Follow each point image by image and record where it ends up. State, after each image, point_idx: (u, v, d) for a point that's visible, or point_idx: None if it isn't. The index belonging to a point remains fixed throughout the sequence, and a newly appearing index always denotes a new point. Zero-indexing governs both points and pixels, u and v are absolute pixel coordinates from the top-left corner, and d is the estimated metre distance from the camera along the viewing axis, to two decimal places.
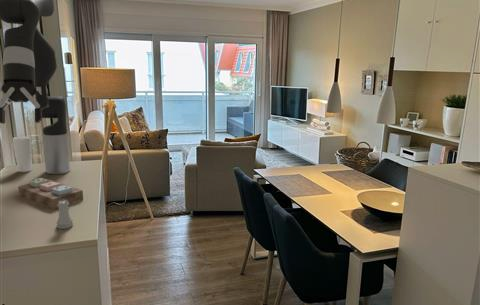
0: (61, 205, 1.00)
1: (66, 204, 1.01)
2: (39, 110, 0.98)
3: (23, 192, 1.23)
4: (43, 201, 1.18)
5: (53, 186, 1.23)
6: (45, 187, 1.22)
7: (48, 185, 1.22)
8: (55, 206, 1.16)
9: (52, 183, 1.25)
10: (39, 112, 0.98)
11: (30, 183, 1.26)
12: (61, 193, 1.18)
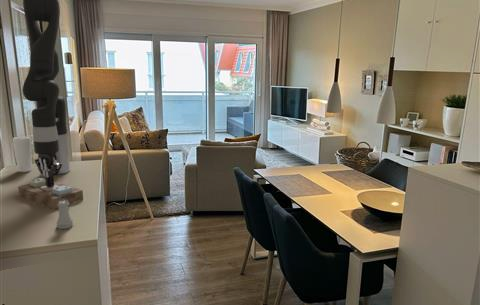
0: (61, 205, 1.00)
1: (66, 204, 1.01)
2: (49, 178, 1.22)
3: (23, 192, 1.23)
4: (43, 201, 1.18)
5: None
6: (45, 190, 1.22)
7: (48, 188, 1.23)
8: (55, 206, 1.16)
9: None
10: (49, 180, 1.22)
11: (30, 183, 1.26)
12: (61, 193, 1.18)
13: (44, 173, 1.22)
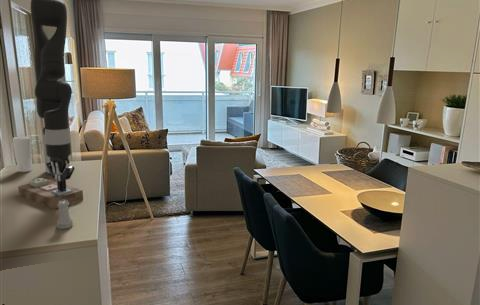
0: (61, 205, 1.00)
1: (66, 204, 1.01)
2: (61, 182, 1.19)
3: (23, 192, 1.23)
4: (43, 201, 1.18)
5: (53, 189, 1.23)
6: (45, 190, 1.22)
7: (48, 188, 1.23)
8: (55, 206, 1.16)
9: (53, 186, 1.25)
10: (61, 184, 1.19)
11: (30, 183, 1.26)
12: None
13: (56, 177, 1.19)
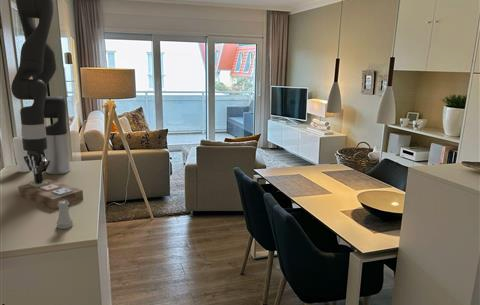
0: (61, 205, 1.00)
1: (66, 204, 1.01)
2: (37, 175, 1.25)
3: (23, 192, 1.23)
4: (43, 201, 1.18)
5: (53, 189, 1.23)
6: (45, 190, 1.22)
7: (48, 188, 1.23)
8: (55, 206, 1.16)
9: (53, 186, 1.25)
10: (38, 176, 1.25)
11: None
12: None
13: (33, 170, 1.25)
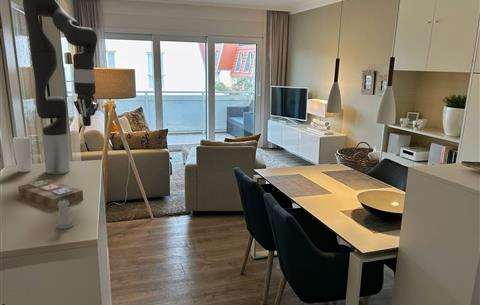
0: (61, 205, 1.00)
1: (66, 204, 1.01)
2: (87, 118, 1.36)
3: (23, 192, 1.23)
4: (43, 201, 1.18)
5: (53, 189, 1.23)
6: (45, 190, 1.22)
7: (48, 188, 1.23)
8: (55, 206, 1.16)
9: (53, 186, 1.25)
10: (87, 119, 1.36)
11: None
12: None
13: (82, 113, 1.36)
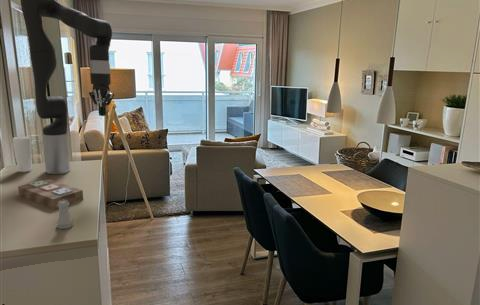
0: (61, 205, 1.00)
1: (66, 204, 1.01)
2: (102, 108, 1.40)
3: (23, 192, 1.23)
4: (43, 201, 1.18)
5: (53, 189, 1.23)
6: (45, 190, 1.22)
7: (48, 188, 1.23)
8: (55, 206, 1.16)
9: (53, 186, 1.25)
10: (102, 109, 1.40)
11: None
12: None
13: (98, 103, 1.40)
